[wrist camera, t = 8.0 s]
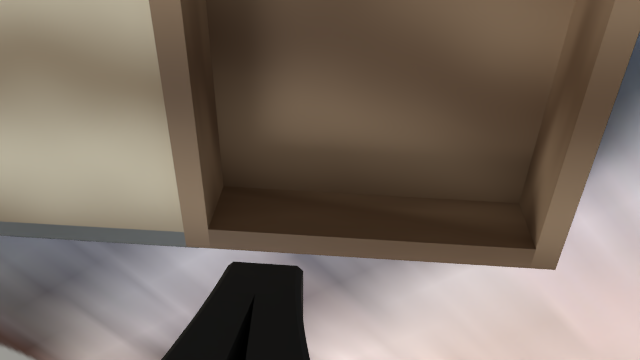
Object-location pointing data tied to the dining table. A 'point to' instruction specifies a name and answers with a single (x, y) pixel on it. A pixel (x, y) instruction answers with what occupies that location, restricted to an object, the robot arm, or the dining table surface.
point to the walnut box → (389, 122)
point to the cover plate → (84, 117)
